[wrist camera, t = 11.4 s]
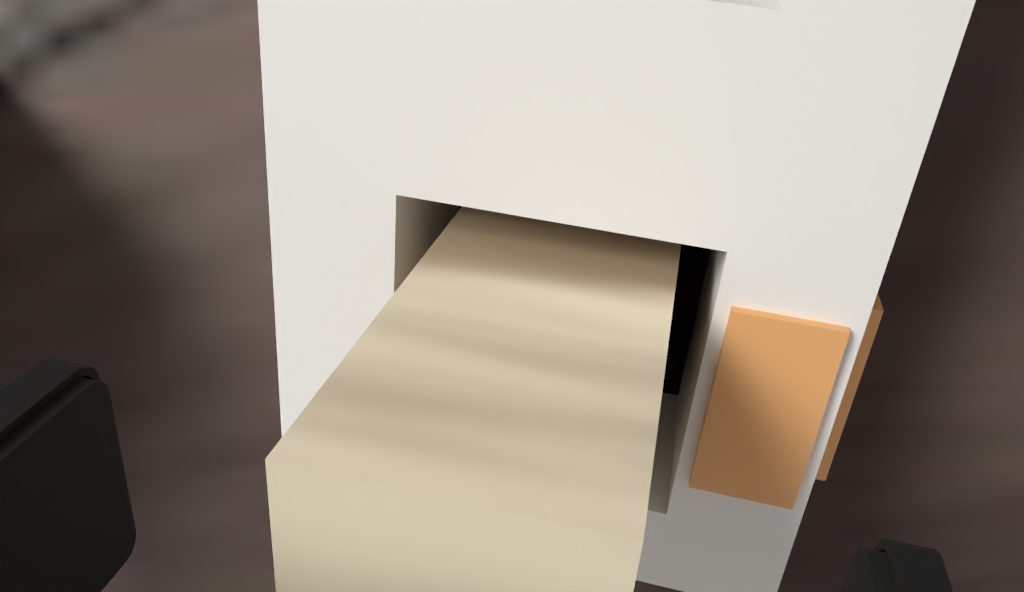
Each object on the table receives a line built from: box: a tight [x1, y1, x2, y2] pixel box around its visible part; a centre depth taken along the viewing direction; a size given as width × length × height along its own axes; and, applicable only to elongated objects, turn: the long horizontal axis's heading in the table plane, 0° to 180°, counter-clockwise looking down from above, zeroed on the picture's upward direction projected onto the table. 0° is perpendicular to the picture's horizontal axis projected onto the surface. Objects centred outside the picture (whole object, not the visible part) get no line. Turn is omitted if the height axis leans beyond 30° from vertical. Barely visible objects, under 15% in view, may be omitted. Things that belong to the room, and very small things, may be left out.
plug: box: [265, 206, 681, 592], centre depth 14 cm, size 4×4×10 cm
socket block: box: [258, 0, 976, 592], centre depth 14 cm, size 18×10×4 cm, turn 175°
